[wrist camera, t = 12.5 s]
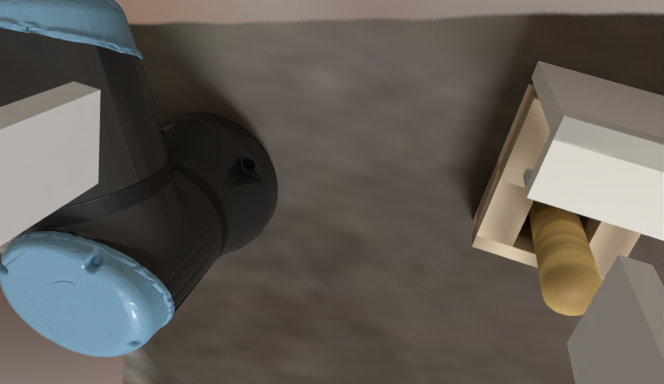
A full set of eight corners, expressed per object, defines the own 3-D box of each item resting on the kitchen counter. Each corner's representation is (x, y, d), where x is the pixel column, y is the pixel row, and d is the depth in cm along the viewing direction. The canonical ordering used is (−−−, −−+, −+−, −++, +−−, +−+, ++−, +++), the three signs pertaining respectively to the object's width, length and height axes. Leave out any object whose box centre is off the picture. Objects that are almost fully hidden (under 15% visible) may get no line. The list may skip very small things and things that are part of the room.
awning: (513, 121, 48) (526, 197, 34) (538, 60, 45) (563, 116, 31) (651, 162, 46) (725, 259, 32) (685, 101, 44) (782, 179, 30)
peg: (537, 179, 49) (556, 259, 37) (581, 193, 49) (615, 278, 36) (520, 216, 51) (533, 304, 39) (562, 229, 51) (588, 323, 38)
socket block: (472, 220, 52) (471, 246, 48) (528, 83, 46) (534, 98, 42) (596, 260, 51) (607, 290, 47) (672, 124, 45) (693, 144, 40)
